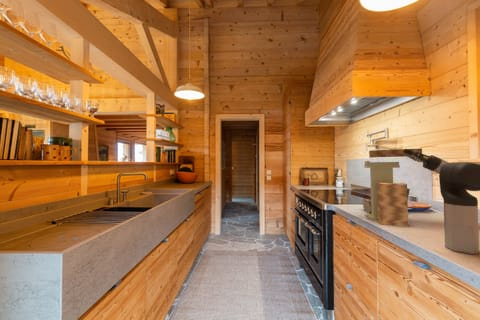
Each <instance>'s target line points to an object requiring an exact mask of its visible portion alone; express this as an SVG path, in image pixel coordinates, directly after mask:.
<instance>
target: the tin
mask: <svg viewBox="0 0 480 320" xmlns="http://www.w3.org/2000/svg"><path fill="white" fill-rule="evenodd" d="M362 207H363V210H364V211H365V212H366V213H367V214H371V199H369V198H363V199H362Z"/></svg>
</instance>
